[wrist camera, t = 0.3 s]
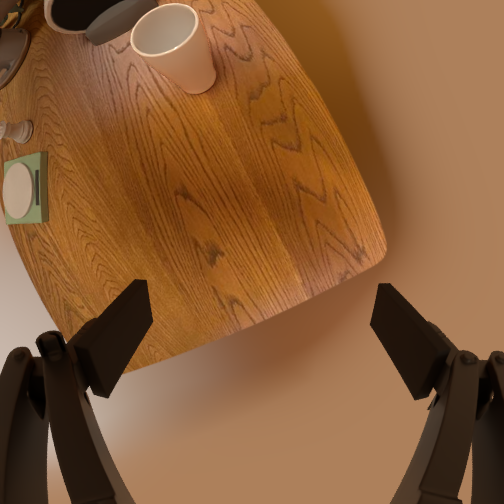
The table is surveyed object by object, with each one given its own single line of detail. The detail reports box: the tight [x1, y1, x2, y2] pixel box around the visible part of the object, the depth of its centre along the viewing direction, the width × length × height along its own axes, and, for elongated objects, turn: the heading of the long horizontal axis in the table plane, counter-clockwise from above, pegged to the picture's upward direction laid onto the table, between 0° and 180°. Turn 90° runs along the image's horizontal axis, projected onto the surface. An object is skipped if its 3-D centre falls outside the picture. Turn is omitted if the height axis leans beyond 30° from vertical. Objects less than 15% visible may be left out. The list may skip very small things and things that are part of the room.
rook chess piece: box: [0, 120, 33, 144], centre depth 29 cm, size 4×4×8 cm
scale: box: [3, 152, 49, 224], centre depth 35 cm, size 12×12×3 cm
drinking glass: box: [130, 3, 216, 94], centre depth 24 cm, size 7×7×15 cm
